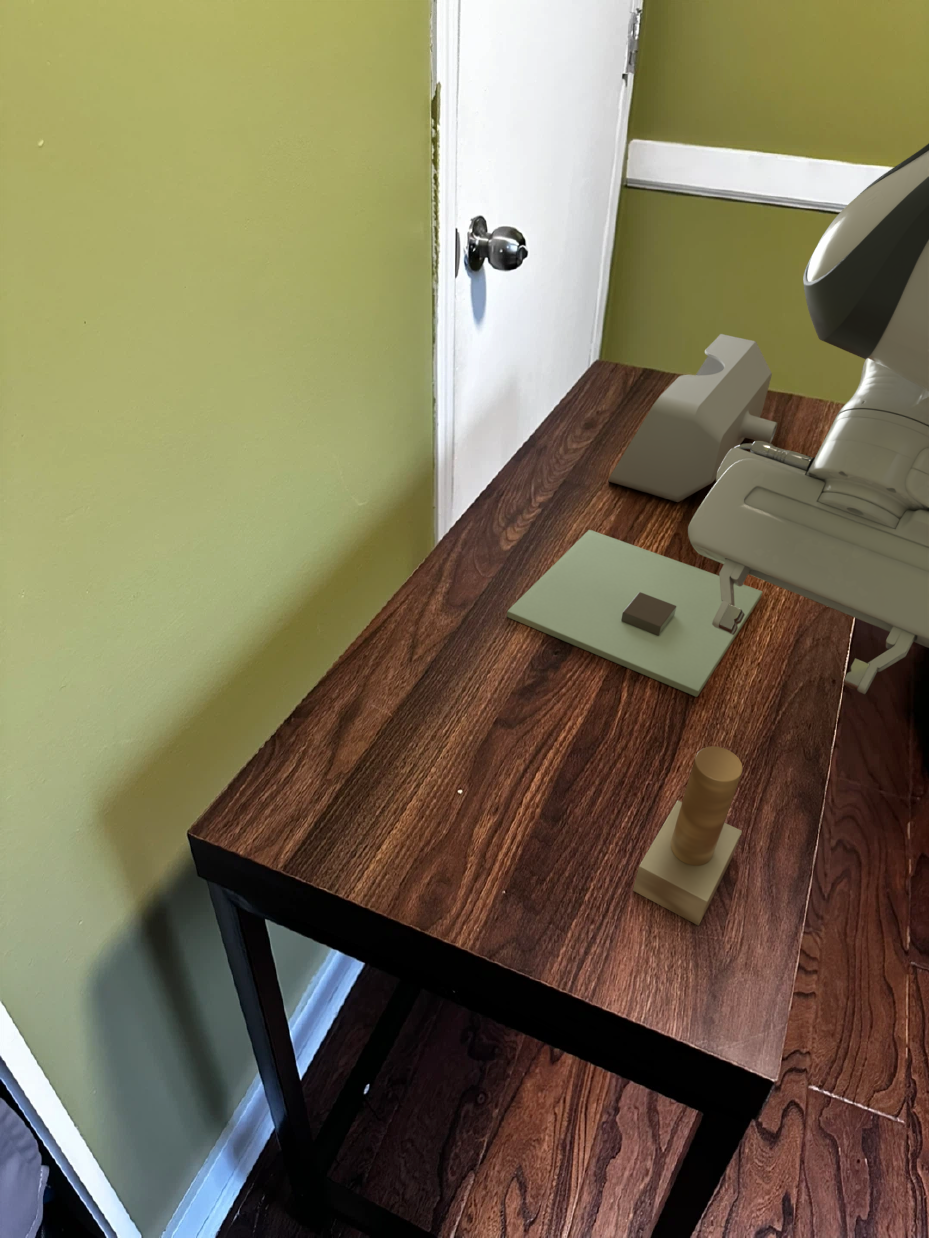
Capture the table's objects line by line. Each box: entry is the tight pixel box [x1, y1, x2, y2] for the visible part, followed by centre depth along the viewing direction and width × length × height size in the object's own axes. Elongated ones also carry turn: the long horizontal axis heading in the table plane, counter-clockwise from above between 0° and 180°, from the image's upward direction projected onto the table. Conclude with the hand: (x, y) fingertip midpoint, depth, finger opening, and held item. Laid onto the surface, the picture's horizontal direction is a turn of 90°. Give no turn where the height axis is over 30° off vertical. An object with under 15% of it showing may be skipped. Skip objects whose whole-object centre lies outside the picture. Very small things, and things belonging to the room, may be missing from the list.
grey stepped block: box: [607, 333, 778, 503], centre depth 107 cm, size 25×16×12 cm, turn 150°
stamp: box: [632, 745, 743, 926], centre depth 59 cm, size 5×7×12 cm
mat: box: [506, 529, 763, 698], centre depth 87 cm, size 20×18×1 cm
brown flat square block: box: [621, 592, 676, 636], centre depth 84 cm, size 4×4×1 cm
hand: (785, 658), depth 59 cm, fingers open, 8 cm apart
